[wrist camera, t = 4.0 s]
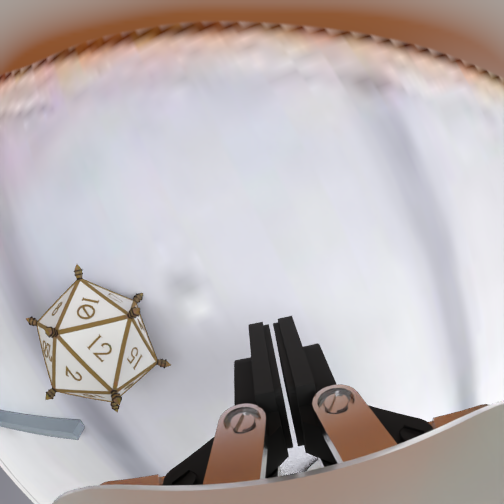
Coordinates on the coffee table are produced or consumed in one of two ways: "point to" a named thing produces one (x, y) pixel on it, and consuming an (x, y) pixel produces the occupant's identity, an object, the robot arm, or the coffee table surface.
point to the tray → (42, 425)
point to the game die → (94, 343)
